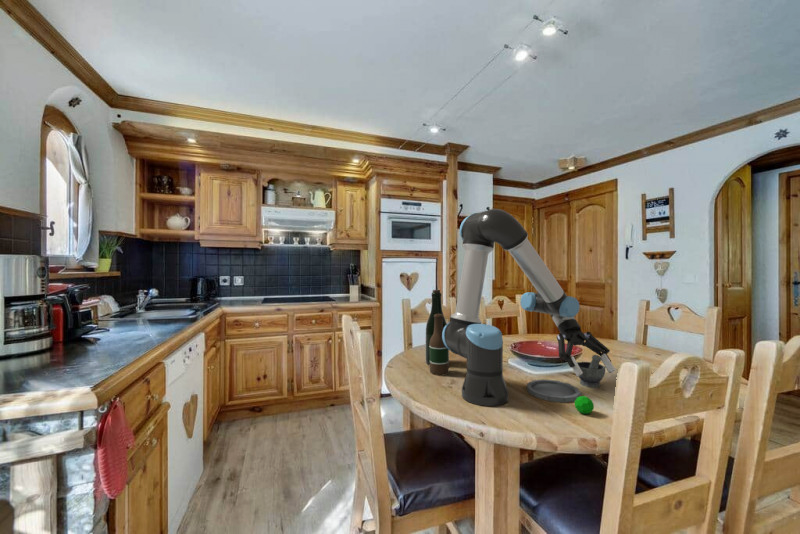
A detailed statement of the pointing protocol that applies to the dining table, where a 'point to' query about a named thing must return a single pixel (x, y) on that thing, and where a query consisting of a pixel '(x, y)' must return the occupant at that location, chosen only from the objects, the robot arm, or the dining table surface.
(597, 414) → the dining table surface
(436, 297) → the wine bottle
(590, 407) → the polyhedron
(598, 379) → the mortar and pestle
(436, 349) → the beer bottle
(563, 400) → the gray plate
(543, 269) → the robot arm
